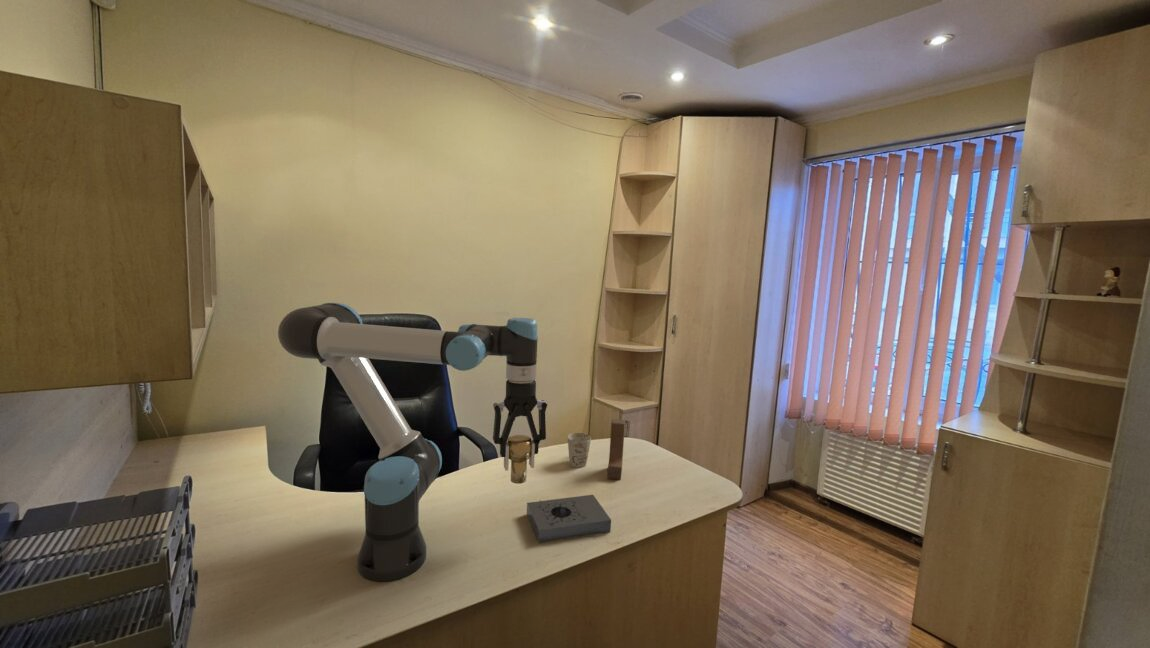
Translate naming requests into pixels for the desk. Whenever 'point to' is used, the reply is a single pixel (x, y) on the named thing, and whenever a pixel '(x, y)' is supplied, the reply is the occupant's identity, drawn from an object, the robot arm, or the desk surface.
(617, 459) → the wooden block
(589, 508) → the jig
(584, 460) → the mug
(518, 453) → the knob
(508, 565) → the desk surface
